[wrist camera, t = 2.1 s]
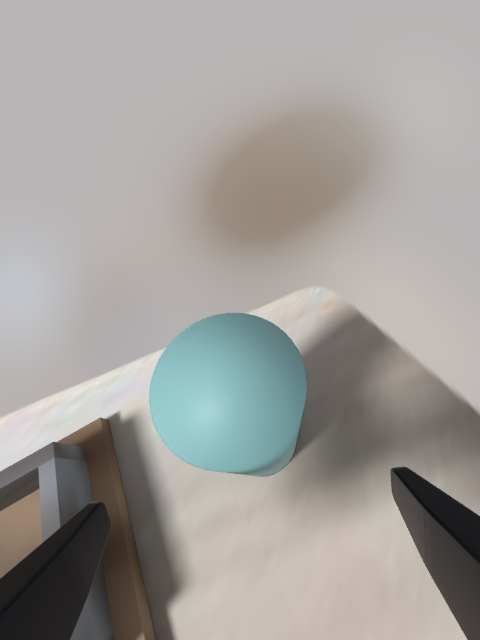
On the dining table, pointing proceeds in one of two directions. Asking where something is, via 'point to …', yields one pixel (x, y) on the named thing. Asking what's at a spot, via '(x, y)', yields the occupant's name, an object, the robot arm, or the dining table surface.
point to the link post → (230, 395)
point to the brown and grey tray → (59, 507)
